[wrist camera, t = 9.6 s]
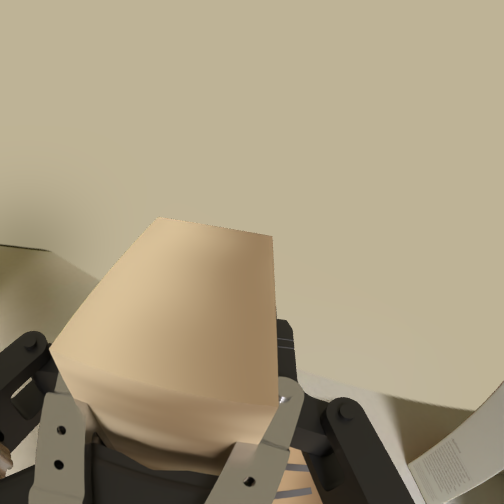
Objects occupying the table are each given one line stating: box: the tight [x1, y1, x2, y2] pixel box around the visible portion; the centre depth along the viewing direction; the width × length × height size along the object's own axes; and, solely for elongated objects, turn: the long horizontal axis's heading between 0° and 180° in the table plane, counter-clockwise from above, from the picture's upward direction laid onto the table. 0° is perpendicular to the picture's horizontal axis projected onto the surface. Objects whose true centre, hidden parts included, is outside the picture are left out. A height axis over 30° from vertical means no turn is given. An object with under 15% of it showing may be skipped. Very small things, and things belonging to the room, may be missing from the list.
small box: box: [408, 381, 504, 504], centre depth 12 cm, size 8×6×13 cm
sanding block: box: [49, 217, 279, 476], centre depth 9 cm, size 4×7×10 cm, turn 177°
